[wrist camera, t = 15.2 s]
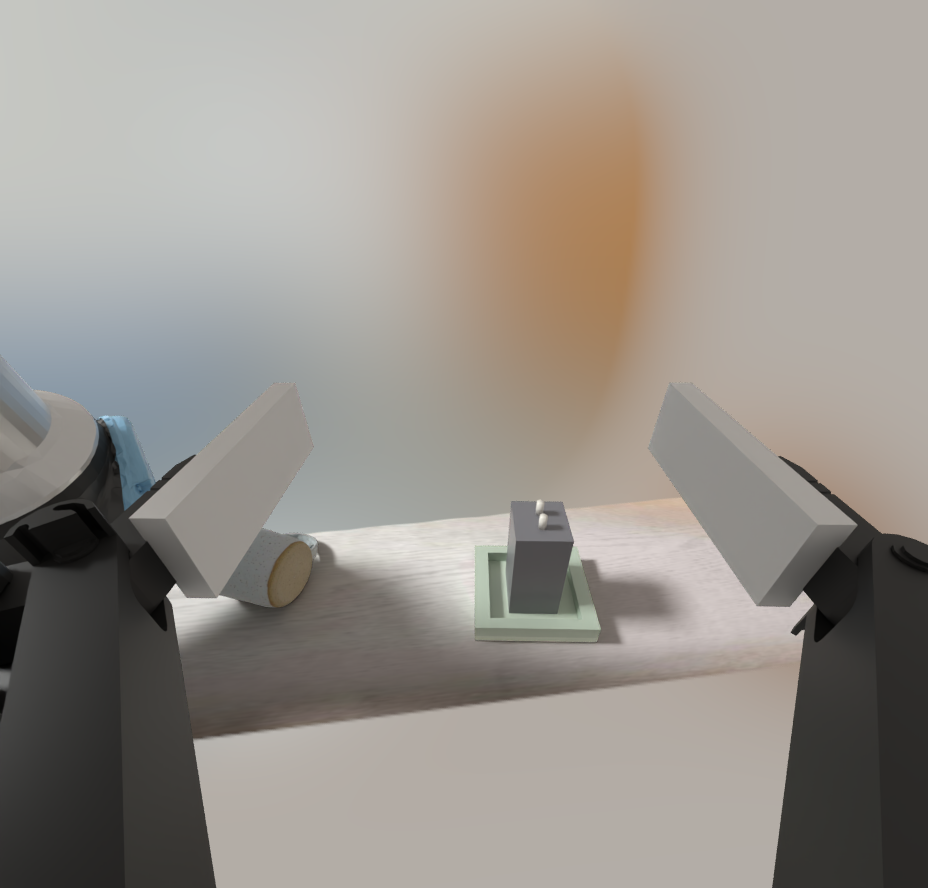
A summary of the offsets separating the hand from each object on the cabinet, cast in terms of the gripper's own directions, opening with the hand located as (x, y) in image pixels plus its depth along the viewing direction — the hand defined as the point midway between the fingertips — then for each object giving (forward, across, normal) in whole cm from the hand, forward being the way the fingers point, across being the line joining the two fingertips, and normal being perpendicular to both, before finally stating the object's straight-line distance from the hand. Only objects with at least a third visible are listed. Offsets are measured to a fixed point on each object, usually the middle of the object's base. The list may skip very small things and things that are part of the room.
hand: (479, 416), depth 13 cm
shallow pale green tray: (+13, +6, -30) cm, 33 cm away
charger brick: (+13, +6, -29) cm, 32 cm away
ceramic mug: (+15, -23, -30) cm, 41 cm away
